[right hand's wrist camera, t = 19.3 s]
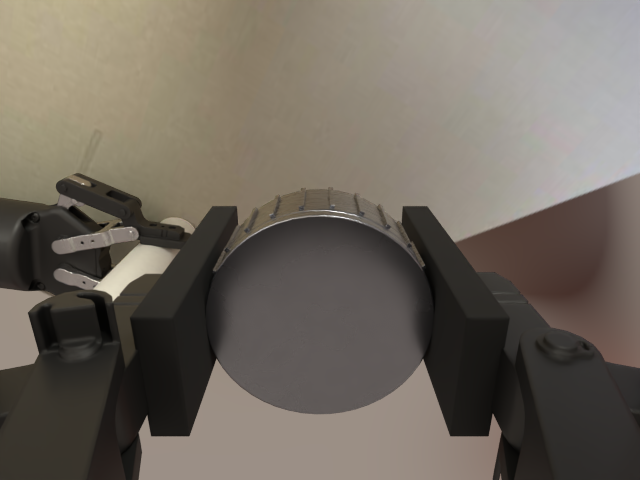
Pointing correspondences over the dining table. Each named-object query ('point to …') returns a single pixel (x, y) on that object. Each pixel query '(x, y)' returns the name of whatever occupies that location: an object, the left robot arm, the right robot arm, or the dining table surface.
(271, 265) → the lid
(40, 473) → the right robot arm
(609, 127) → the dining table surface
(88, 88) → the dining table surface
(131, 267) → the white stepped cylinder
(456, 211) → the dining table surface
